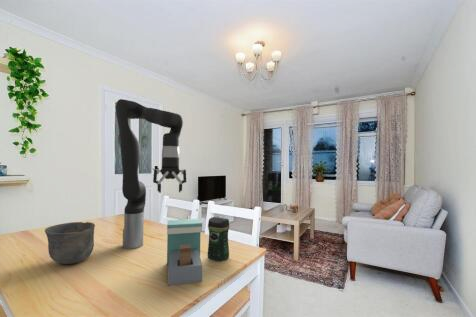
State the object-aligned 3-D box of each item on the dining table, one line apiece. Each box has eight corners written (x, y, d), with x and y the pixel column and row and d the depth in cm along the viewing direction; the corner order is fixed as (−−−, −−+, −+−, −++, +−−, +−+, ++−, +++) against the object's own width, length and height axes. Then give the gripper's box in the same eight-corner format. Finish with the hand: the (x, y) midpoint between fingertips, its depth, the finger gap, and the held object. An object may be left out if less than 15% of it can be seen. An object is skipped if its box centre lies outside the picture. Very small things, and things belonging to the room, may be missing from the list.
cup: (36, 275, 87) (38, 235, 87) (49, 257, 102) (50, 224, 103) (92, 266, 95) (93, 229, 95) (96, 251, 111) (96, 220, 111)
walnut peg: (179, 276, 88) (179, 244, 88) (189, 274, 89) (190, 244, 89) (179, 281, 84) (180, 248, 84) (190, 280, 85) (191, 247, 85)
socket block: (168, 285, 81) (168, 268, 81) (169, 265, 97) (169, 251, 97) (201, 281, 84) (202, 265, 84) (197, 262, 100) (198, 248, 100)
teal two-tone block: (166, 271, 92) (167, 225, 92) (167, 263, 99) (167, 220, 99) (201, 267, 95) (202, 223, 95) (199, 260, 102) (200, 218, 103)
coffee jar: (231, 257, 106) (232, 217, 106) (222, 264, 99) (223, 221, 99) (214, 253, 110) (215, 214, 111) (204, 259, 104) (205, 218, 104)
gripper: (186, 157, 109) (185, 191, 109) (154, 156, 105) (153, 191, 105) (187, 156, 102) (186, 193, 101) (153, 156, 98) (152, 193, 98)
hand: (169, 192), depth 103 cm, fingers open, 8 cm apart
